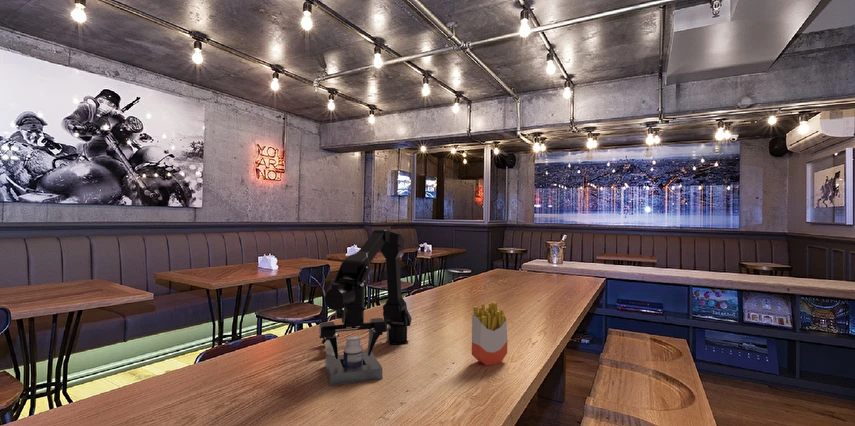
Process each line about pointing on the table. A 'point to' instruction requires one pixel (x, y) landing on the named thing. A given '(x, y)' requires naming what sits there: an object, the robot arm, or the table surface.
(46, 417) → the table surface
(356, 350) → the pill bottle
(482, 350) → the french fries container
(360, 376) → the holder
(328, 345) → the valve
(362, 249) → the robot arm
